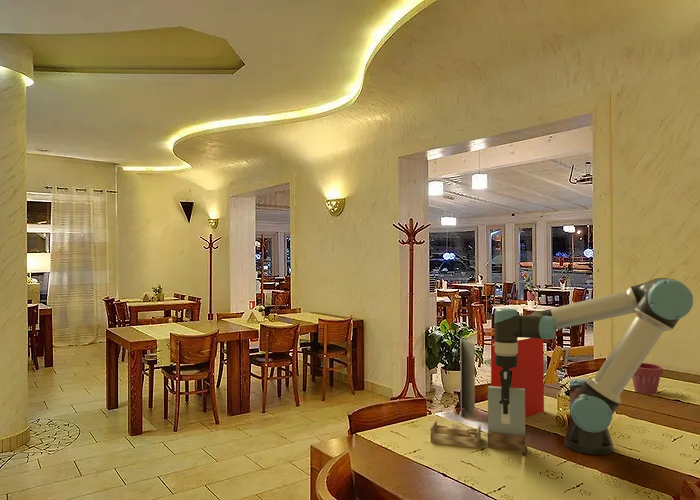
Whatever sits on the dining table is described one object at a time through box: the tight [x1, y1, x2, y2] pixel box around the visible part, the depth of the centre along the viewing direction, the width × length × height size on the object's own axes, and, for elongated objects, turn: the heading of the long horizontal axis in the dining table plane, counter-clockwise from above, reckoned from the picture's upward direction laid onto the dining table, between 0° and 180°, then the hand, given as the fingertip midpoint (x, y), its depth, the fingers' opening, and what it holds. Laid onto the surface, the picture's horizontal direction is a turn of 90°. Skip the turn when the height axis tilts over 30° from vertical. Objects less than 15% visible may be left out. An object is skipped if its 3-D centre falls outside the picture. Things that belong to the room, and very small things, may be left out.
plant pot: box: [631, 362, 663, 395], centre depth 252 cm, size 14×14×13 cm
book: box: [490, 337, 545, 419], centre depth 215 cm, size 27×8×32 cm, turn 129°
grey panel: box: [487, 385, 526, 437], centre depth 176 cm, size 12×2×20 cm, turn 71°
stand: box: [487, 431, 528, 457], centre depth 176 cm, size 13×8×6 cm, turn 71°
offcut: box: [447, 424, 470, 437], centre depth 180 cm, size 7×4×2 cm, turn 71°
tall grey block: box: [459, 338, 476, 418], centre depth 220 cm, size 14×6×30 cm, turn 168°
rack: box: [430, 418, 482, 449], centre depth 182 cm, size 16×10×6 cm, turn 71°
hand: (506, 417), depth 176 cm, fingers open, 12 cm apart
